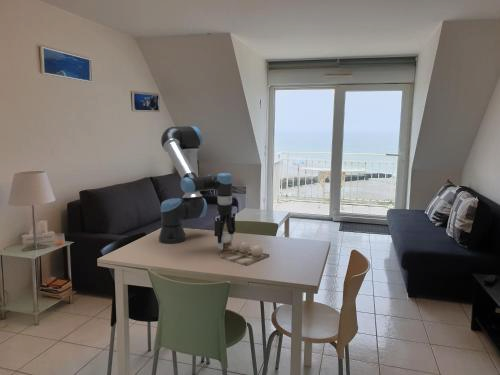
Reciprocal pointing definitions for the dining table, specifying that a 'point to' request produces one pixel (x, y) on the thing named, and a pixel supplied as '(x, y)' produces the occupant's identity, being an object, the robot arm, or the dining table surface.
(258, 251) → the cream white ball
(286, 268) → the dining table surface
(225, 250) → the stand
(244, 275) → the dining table surface
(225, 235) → the white ball
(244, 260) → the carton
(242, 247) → the pale beige ball
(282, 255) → the dining table surface
